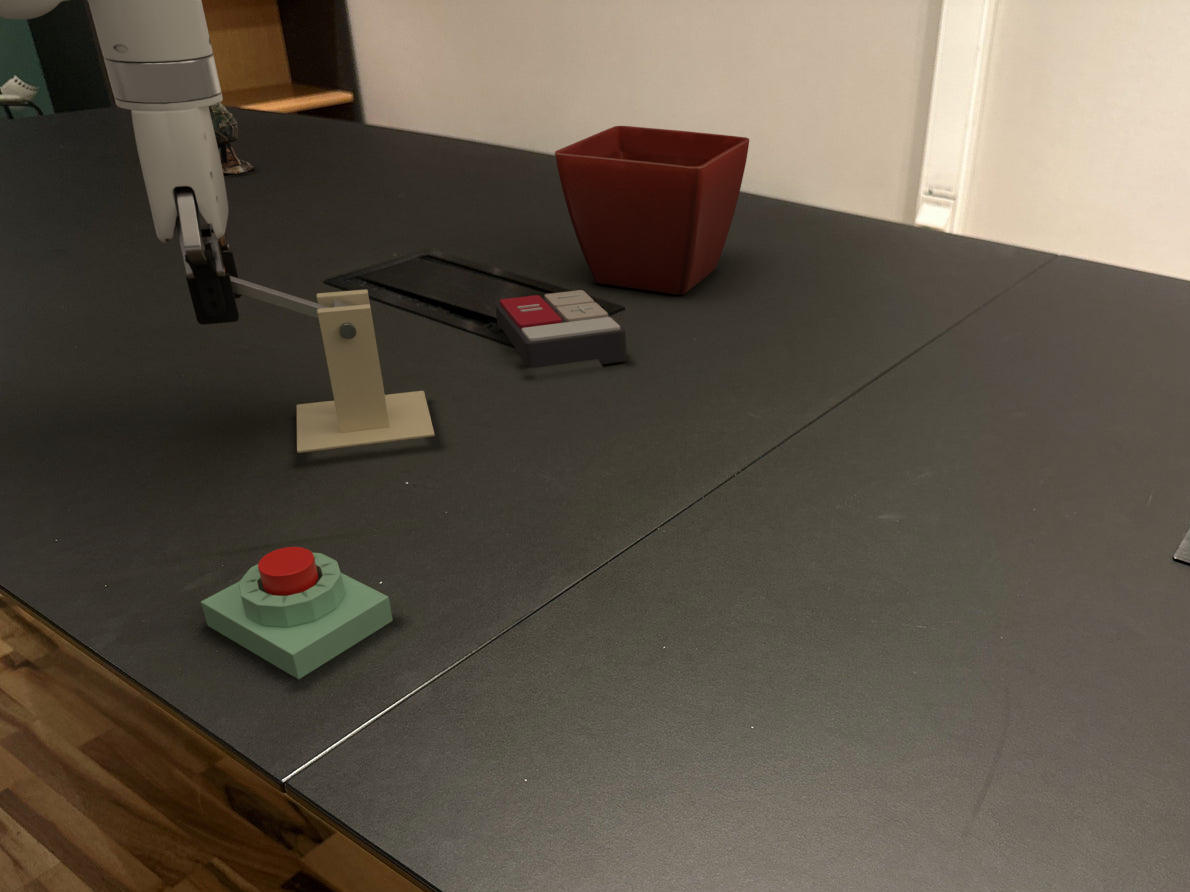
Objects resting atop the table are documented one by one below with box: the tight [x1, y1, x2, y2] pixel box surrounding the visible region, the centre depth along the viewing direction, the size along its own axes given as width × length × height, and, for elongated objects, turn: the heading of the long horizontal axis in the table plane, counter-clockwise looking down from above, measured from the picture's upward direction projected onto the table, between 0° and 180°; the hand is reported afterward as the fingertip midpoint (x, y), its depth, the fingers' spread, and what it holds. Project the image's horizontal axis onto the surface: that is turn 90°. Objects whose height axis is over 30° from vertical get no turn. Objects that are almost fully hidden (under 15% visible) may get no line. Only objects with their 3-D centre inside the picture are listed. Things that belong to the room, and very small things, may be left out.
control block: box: [200, 552, 394, 680], centre depth 73 cm, size 10×8×4 cm
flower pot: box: [554, 125, 750, 295], centre depth 135 cm, size 19×19×17 cm
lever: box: [224, 267, 355, 320], centre depth 91 cm, size 13×5×2 cm, turn 109°
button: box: [257, 546, 318, 596], centre depth 72 cm, size 4×4×2 cm
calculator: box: [495, 289, 628, 369], centre depth 118 cm, size 11×4×15 cm
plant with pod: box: [208, 102, 254, 175], centre depth 175 cm, size 8×11×20 cm
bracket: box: [296, 289, 436, 454], centre depth 96 cm, size 12×10×13 cm
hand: (220, 307), depth 90 cm, fingers closed on lever, 5 cm apart
